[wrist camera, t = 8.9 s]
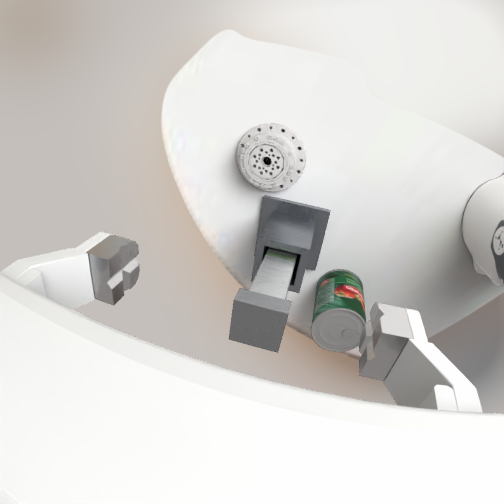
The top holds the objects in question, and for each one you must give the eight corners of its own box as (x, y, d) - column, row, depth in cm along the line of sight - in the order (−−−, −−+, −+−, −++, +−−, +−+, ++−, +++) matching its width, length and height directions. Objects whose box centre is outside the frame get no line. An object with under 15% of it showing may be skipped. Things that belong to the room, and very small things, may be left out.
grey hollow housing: (330, 210, 46) (328, 243, 36) (315, 267, 51) (308, 311, 40) (265, 195, 47) (243, 223, 37) (255, 253, 52) (234, 292, 42)
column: (306, 237, 42) (288, 313, 27) (299, 269, 45) (277, 352, 30) (270, 228, 43) (233, 299, 28) (265, 260, 45) (228, 339, 31)
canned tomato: (310, 300, 54) (302, 342, 44) (326, 262, 50) (322, 301, 40) (351, 314, 53) (351, 358, 43) (370, 278, 49) (376, 319, 40)
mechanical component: (288, 200, 47) (317, 141, 42) (284, 209, 43) (316, 145, 38) (229, 172, 47) (254, 112, 42) (220, 178, 44) (246, 113, 39)
